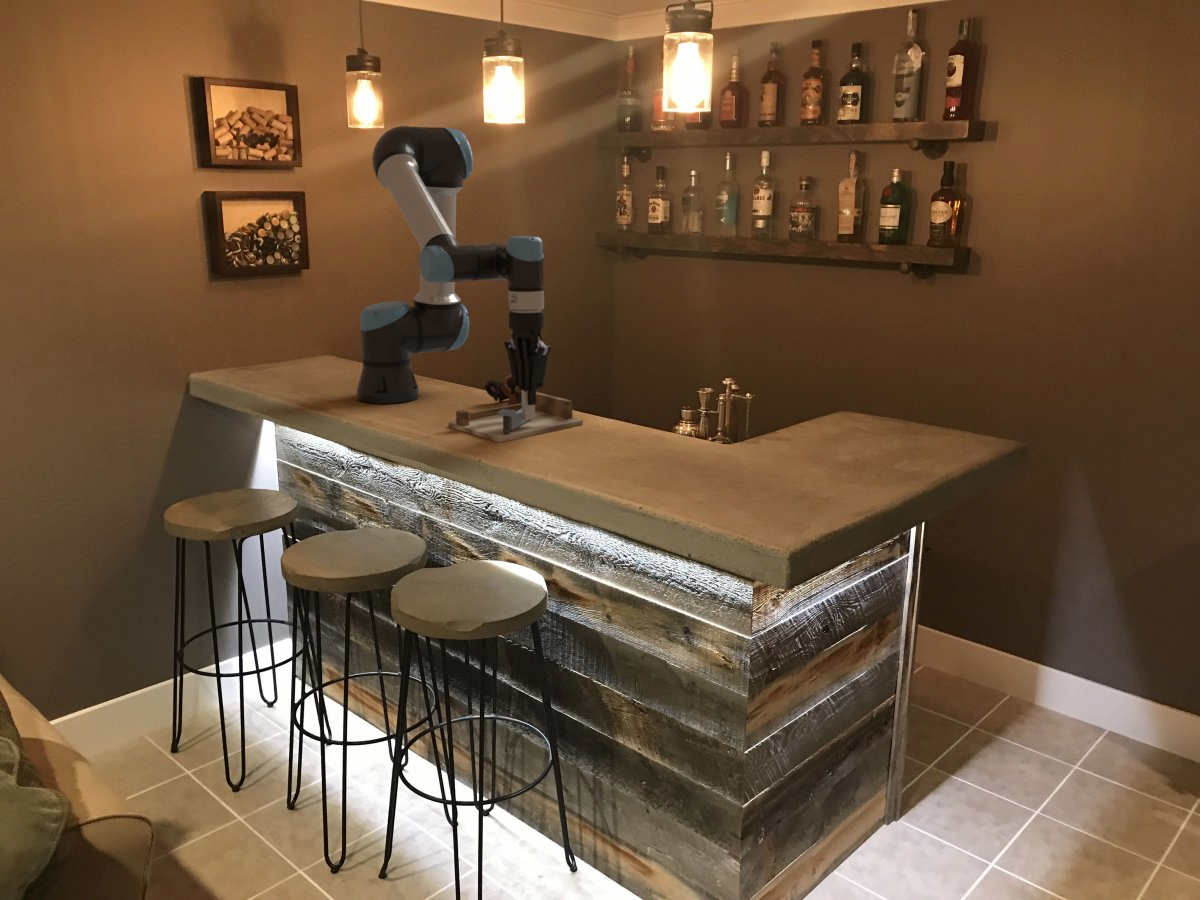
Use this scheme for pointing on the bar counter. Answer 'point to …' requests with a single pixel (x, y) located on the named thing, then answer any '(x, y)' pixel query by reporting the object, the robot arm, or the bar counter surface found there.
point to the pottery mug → (503, 390)
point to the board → (497, 428)
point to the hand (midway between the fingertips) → (528, 418)
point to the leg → (513, 417)
